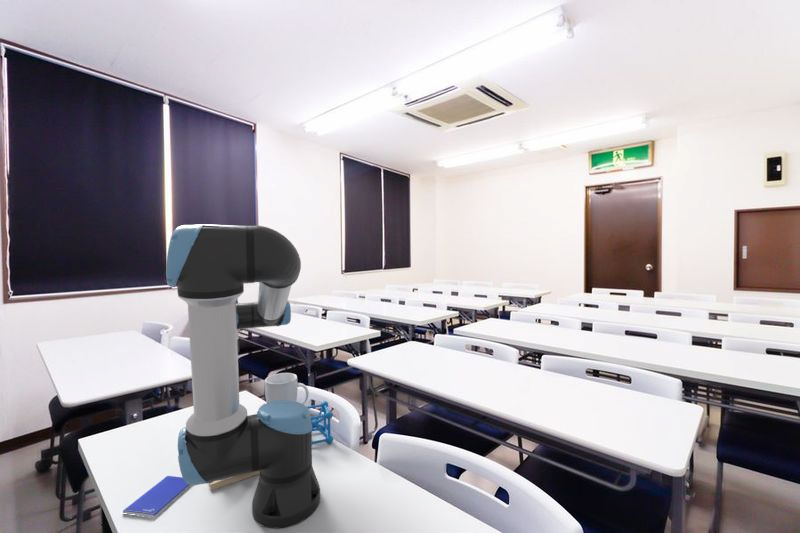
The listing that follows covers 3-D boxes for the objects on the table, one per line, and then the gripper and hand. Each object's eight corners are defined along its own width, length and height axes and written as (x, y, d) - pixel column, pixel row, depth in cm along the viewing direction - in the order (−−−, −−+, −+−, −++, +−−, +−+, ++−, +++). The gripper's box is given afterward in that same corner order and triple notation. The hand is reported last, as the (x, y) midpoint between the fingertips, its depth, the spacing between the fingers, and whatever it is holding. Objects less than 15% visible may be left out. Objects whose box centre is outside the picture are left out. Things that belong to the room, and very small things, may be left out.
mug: (309, 404, 136) (308, 370, 136) (308, 417, 126) (307, 381, 125) (268, 408, 133) (267, 374, 132) (263, 422, 122) (262, 385, 122)
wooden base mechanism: (261, 472, 95) (260, 449, 95) (210, 490, 88) (209, 466, 88) (242, 435, 114) (241, 416, 114) (199, 448, 107) (198, 427, 107)
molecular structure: (333, 444, 109) (333, 412, 108) (300, 451, 105) (299, 418, 105) (328, 428, 118) (327, 399, 118) (296, 434, 114) (296, 404, 114)
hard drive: (154, 513, 79) (194, 478, 92) (122, 509, 81) (166, 475, 93) (154, 520, 79) (195, 484, 92) (122, 516, 81) (166, 481, 93)
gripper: (243, 344, 109) (245, 419, 111) (234, 335, 120) (236, 403, 121) (215, 348, 105) (218, 426, 106) (209, 338, 115) (212, 409, 117)
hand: (228, 414), depth 114 cm, fingers closed
